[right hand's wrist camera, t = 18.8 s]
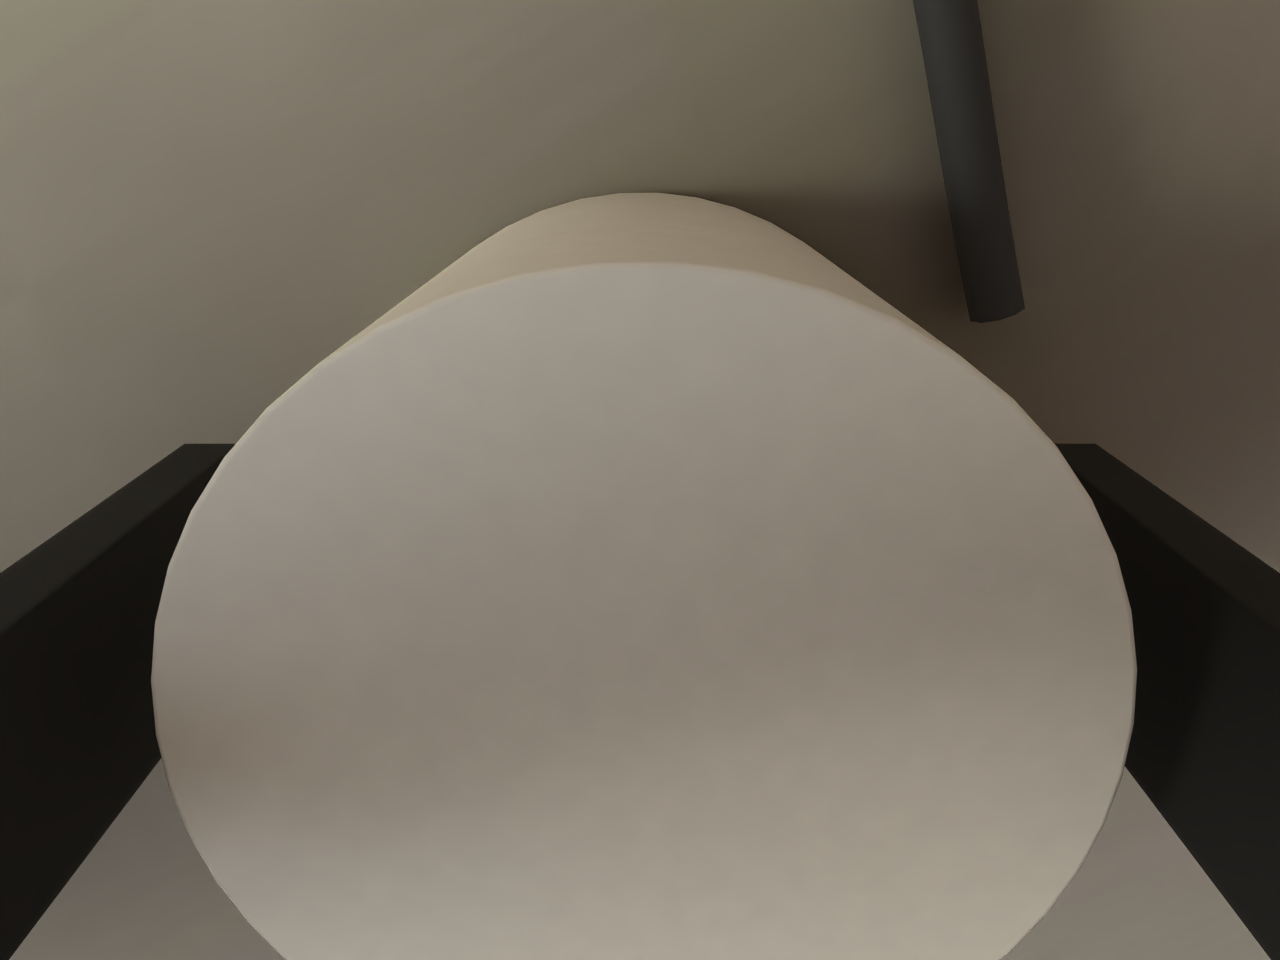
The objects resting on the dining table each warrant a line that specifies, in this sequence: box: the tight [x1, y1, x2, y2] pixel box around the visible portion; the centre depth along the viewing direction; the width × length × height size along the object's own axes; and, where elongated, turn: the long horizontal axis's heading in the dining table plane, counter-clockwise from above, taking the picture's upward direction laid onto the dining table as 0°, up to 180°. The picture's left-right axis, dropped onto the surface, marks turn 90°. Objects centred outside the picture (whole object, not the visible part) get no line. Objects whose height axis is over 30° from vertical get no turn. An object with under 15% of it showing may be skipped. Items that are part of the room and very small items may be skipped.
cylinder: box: [151, 193, 1137, 960], centre depth 12 cm, size 9×9×7 cm
